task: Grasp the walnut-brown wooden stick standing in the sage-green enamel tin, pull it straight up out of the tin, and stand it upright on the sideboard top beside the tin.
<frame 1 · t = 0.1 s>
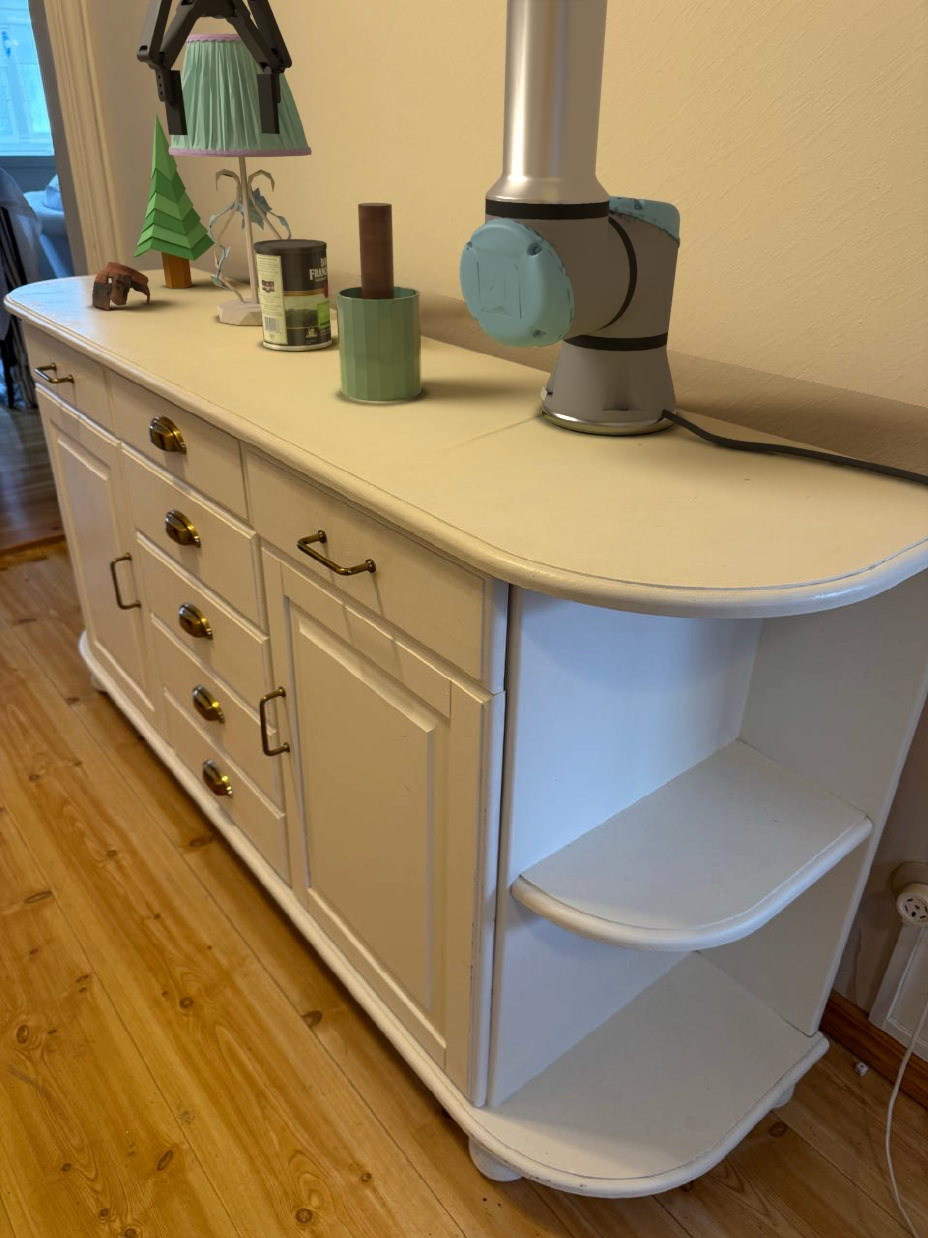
hand: (226, 134, 113), 28 cm above the table, tool pointing down, fingers open, 13 cm apart
decorative tree: (179, 287, 182), on the table
table lamp: (257, 318, 155), on the table
tin: (381, 393, 114), on the table
coffee can: (297, 344, 138), on the table
stick: (381, 389, 114), resting on tin
brown arched piece: (122, 307, 163), on the table
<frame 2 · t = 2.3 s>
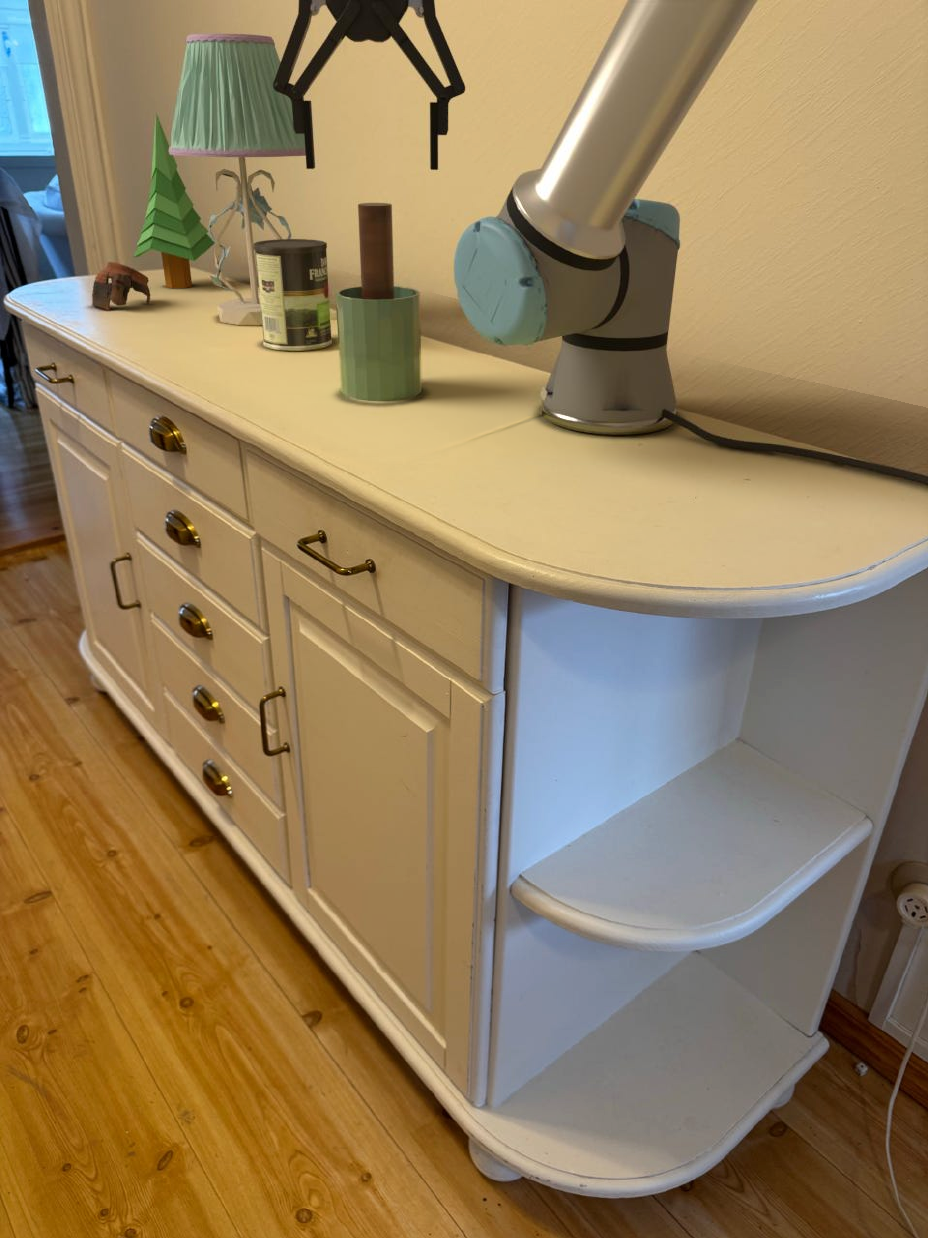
hand: (372, 168, 102), 25 cm above the table, tool pointing down, fingers open, 13 cm apart
nothing on the table moved.
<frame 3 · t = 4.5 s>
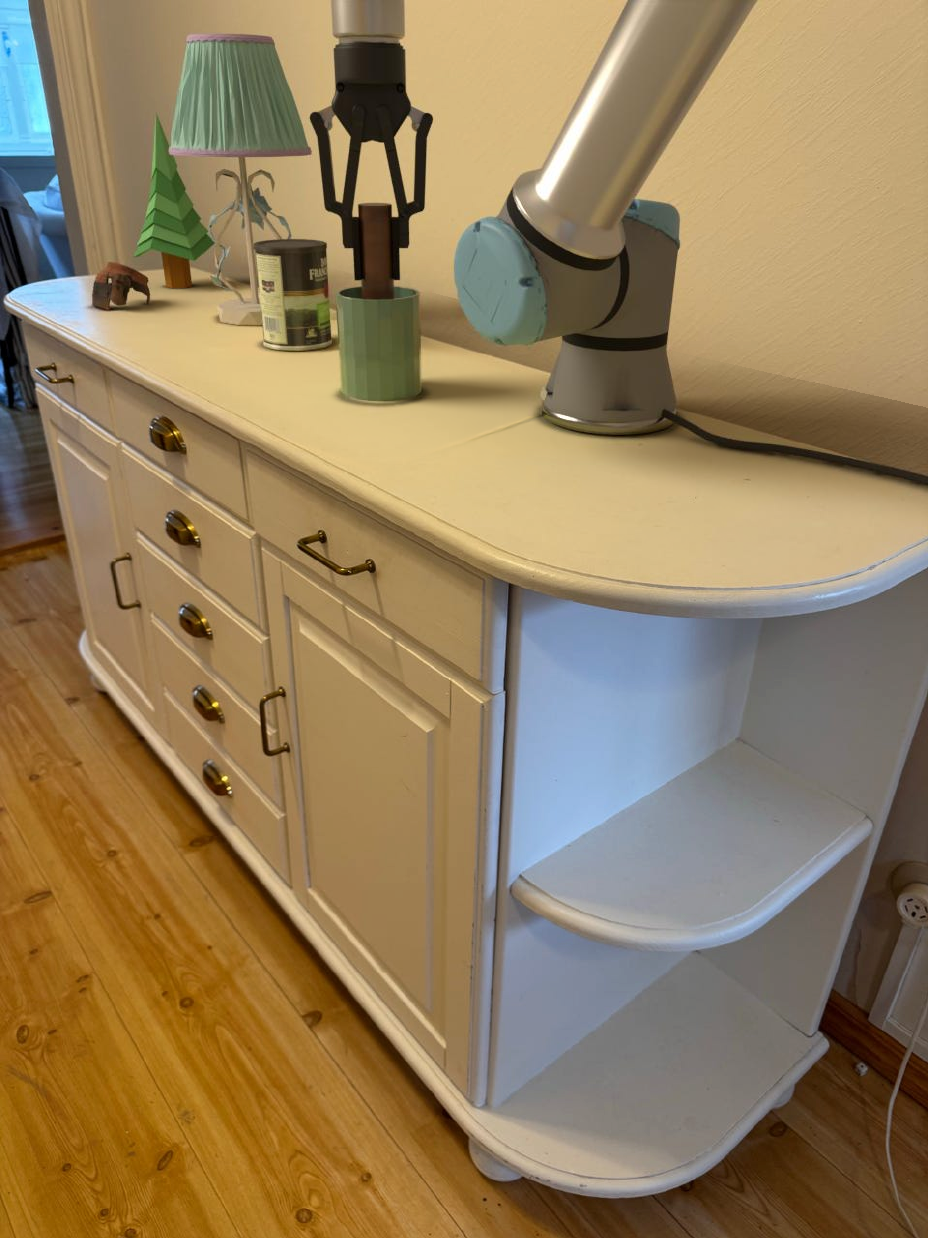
hand: (377, 277, 108), 14 cm above the table, tool pointing down, fingers closed on stick, 4 cm apart
stick: (381, 389, 114), point 1 cm above the table, touching gripper, tin
everything else where it was.
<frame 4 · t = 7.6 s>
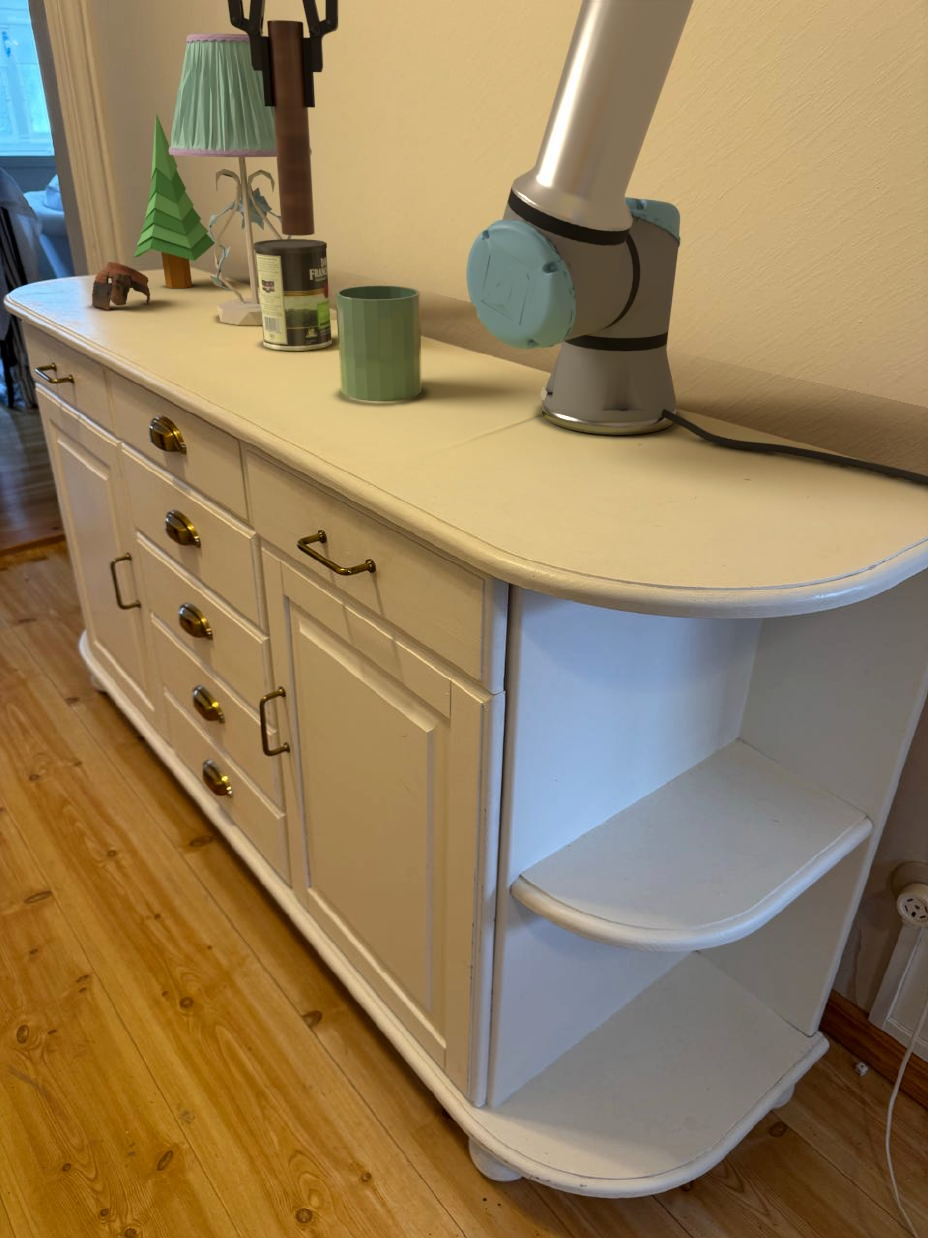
hand: (290, 106, 102), 31 cm above the table, tool pointing down, fingers closed on stick, 4 cm apart
stick: (298, 233, 109), point 18 cm above the table, touching gripper
everything else where it was.
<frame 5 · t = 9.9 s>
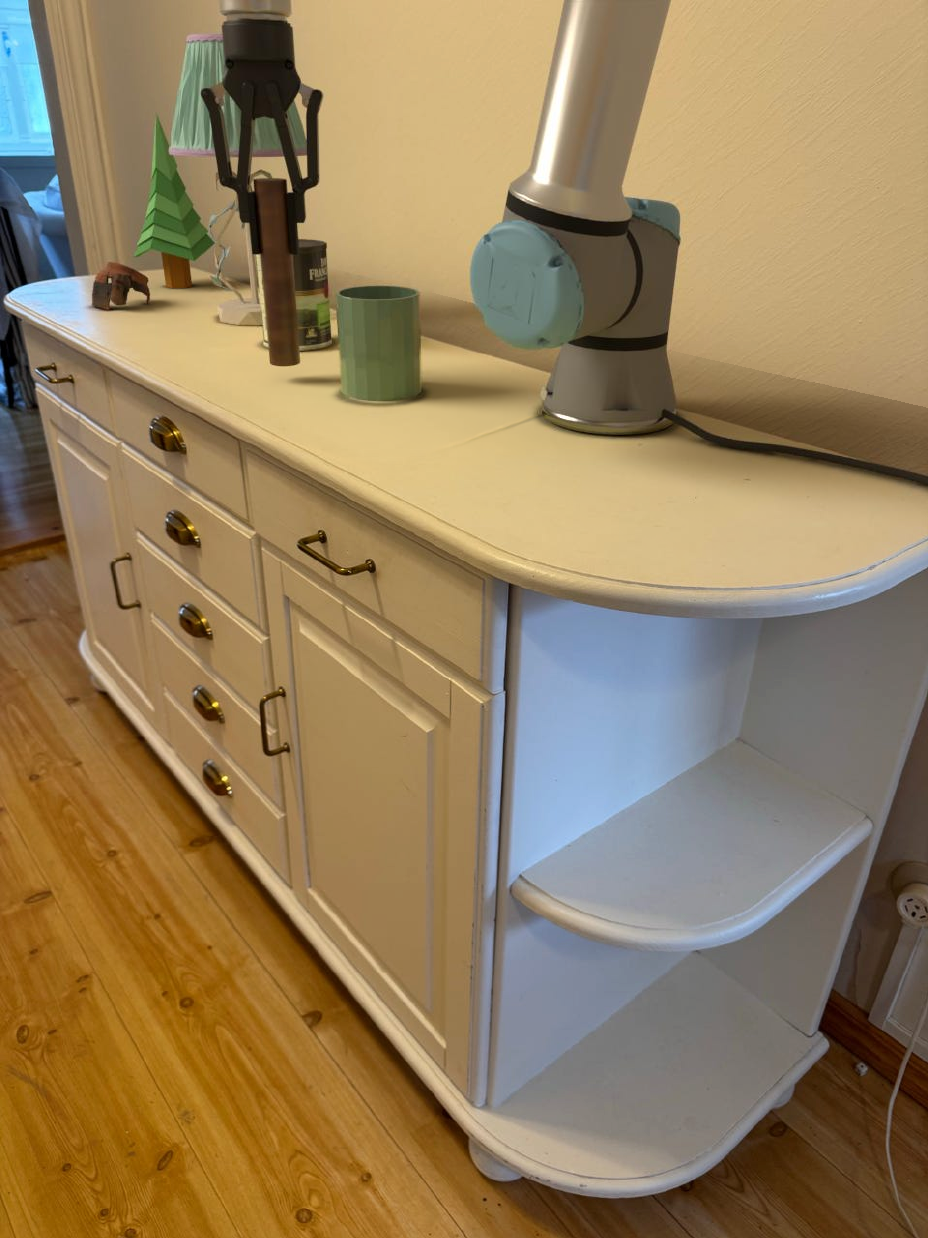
hand: (276, 252, 110), 16 cm above the table, tool pointing down, fingers closed on stick, 4 cm apart
stick: (285, 362, 117), point 3 cm above the table, touching gripper
everything else where it was.
when the fingers open (13 cm above the table, at t = 11.1 s): stick stays where it is, on the table.
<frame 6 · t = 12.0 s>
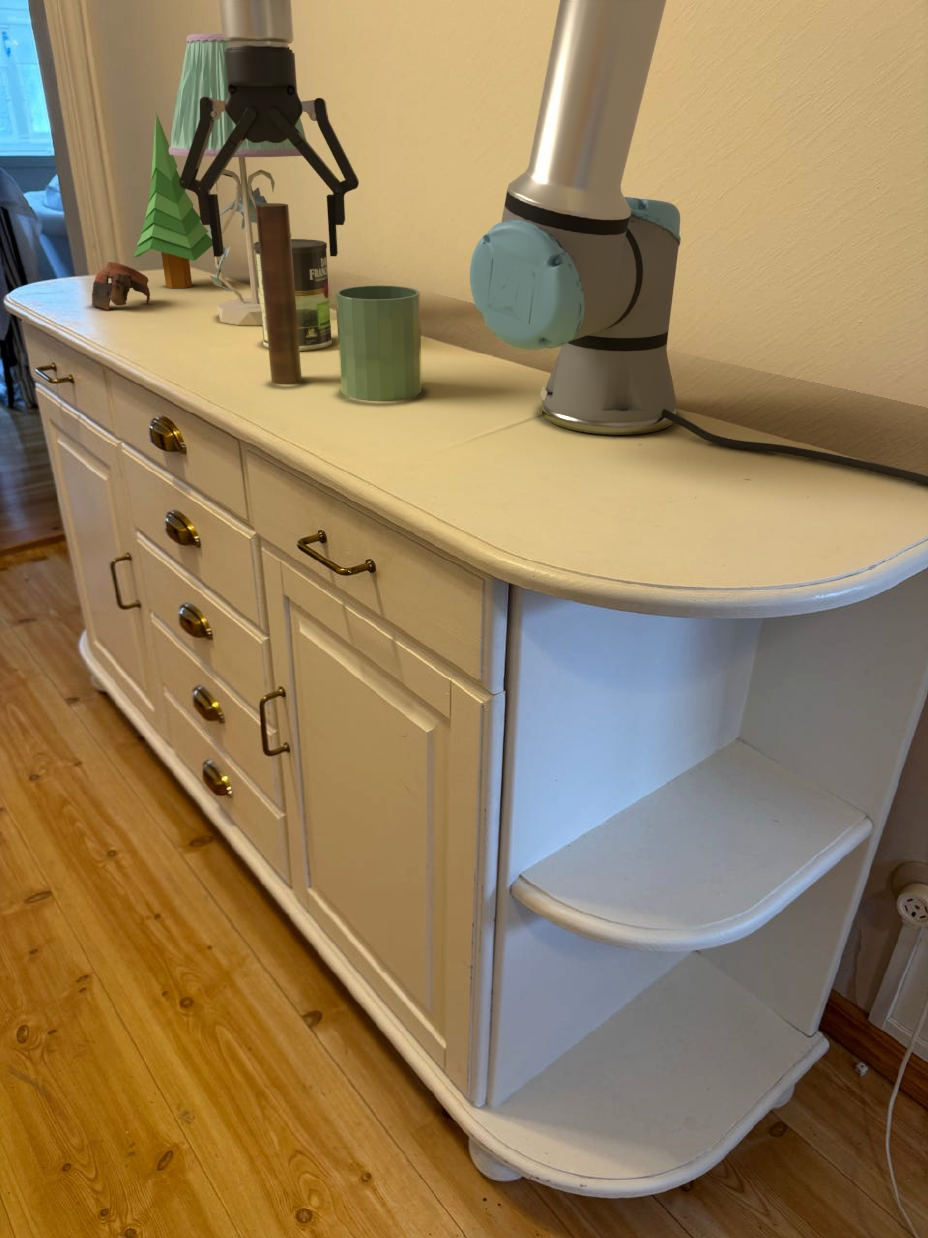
hand: (276, 255, 110), 15 cm above the table, tool pointing down, fingers open, 13 cm apart
stick: (286, 383, 118), on the table
everything else where it was.
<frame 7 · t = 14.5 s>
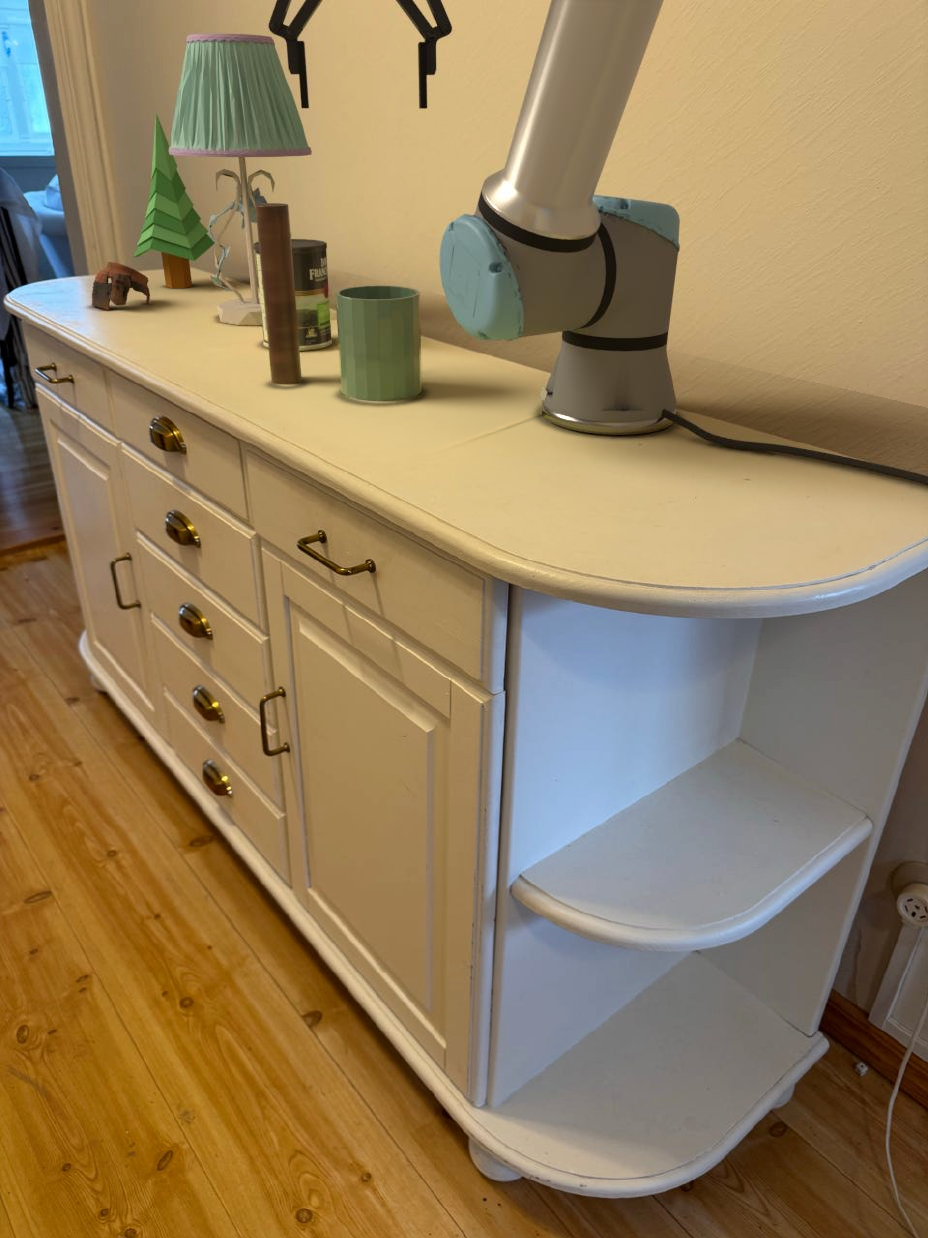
hand: (364, 108, 107), 31 cm above the table, tool pointing down, fingers open, 13 cm apart
nothing on the table moved.
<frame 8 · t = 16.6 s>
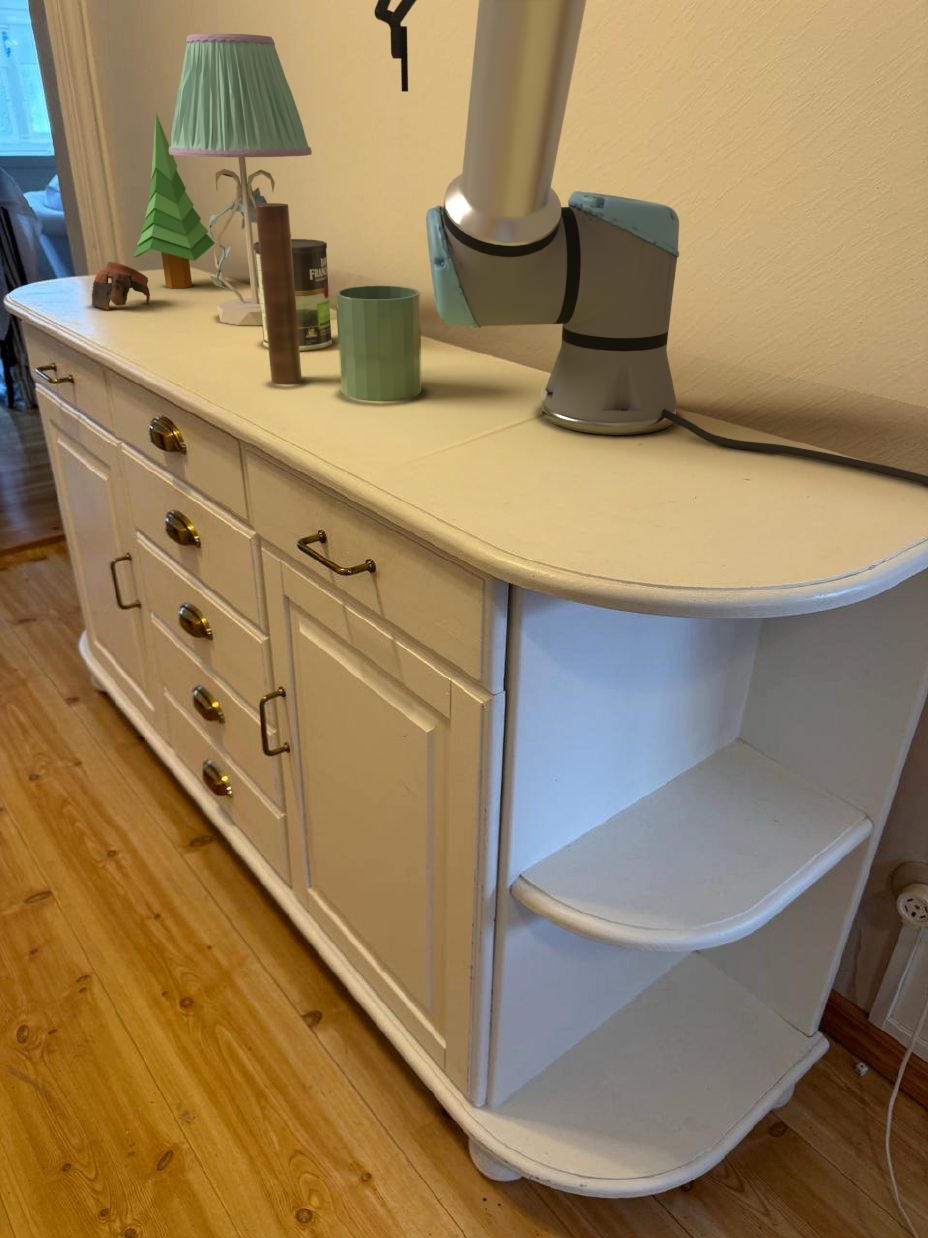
hand: (461, 92, 111), 33 cm above the table, tool pointing down, fingers open, 13 cm apart
nothing on the table moved.
at the end: stick inside the target area (0.2 cm from its centre), on the table; stick tilted 0°; the gripper is holding nothing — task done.
